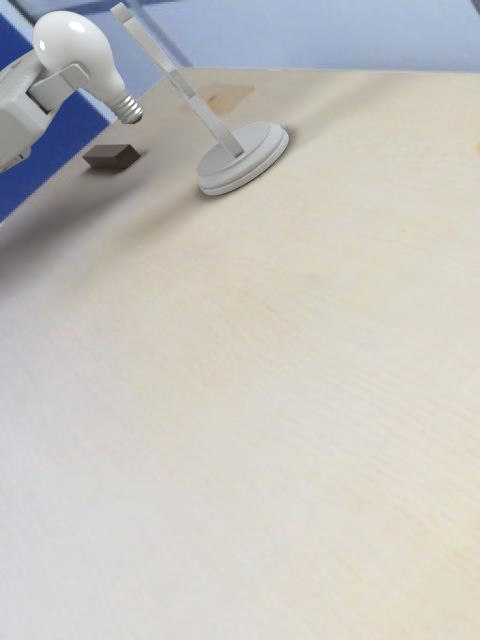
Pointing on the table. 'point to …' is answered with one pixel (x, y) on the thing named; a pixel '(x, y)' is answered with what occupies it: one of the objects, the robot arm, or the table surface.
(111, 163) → the walnut stick
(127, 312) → the table surface
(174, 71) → the white sign stand
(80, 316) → the table surface
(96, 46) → the lightbulb
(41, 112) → the robot arm
